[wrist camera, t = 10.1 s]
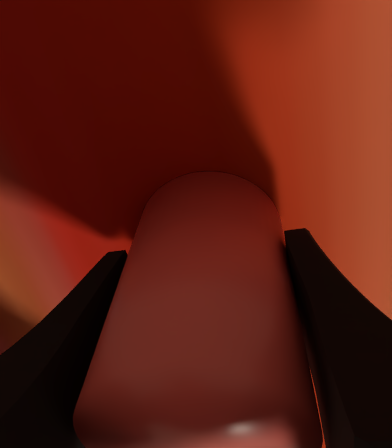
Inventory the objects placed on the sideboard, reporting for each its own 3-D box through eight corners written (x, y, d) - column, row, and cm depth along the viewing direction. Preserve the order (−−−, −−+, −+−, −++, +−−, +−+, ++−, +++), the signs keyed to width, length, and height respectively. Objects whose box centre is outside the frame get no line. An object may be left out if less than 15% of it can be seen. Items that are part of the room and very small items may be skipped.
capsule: (233, 301, 15) (235, 507, 9) (119, 251, 14) (45, 451, 8) (311, 214, 12) (380, 428, 7) (179, 144, 11) (127, 329, 6)
